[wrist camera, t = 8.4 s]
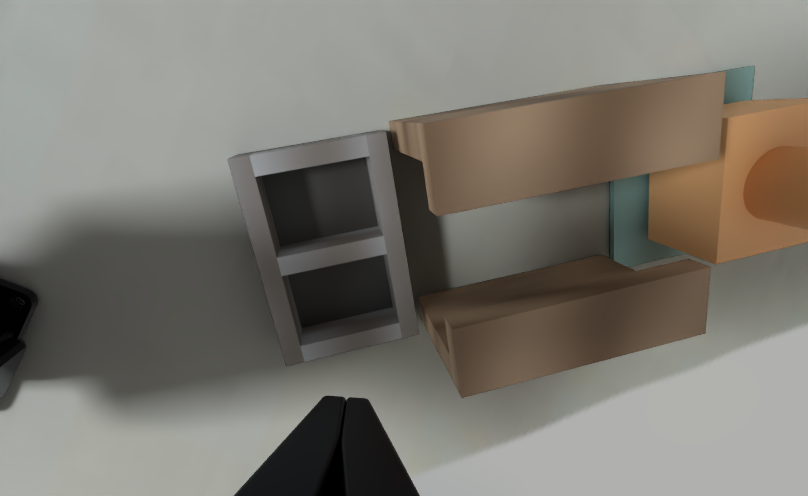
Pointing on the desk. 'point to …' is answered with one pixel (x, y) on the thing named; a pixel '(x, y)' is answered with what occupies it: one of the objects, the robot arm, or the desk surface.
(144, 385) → the desk surface
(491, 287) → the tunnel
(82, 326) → the desk surface
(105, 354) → the desk surface
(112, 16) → the desk surface
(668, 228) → the slider
